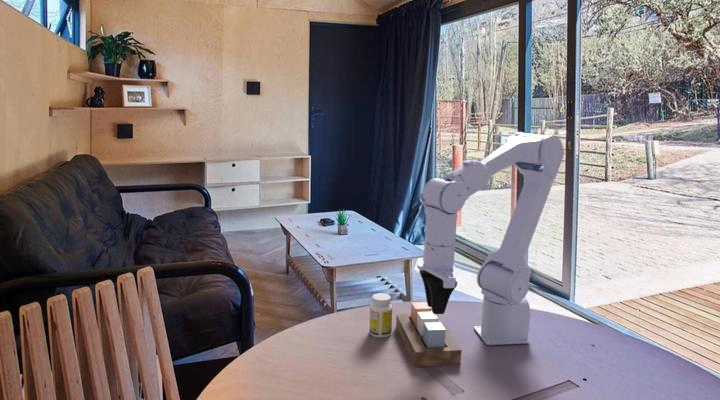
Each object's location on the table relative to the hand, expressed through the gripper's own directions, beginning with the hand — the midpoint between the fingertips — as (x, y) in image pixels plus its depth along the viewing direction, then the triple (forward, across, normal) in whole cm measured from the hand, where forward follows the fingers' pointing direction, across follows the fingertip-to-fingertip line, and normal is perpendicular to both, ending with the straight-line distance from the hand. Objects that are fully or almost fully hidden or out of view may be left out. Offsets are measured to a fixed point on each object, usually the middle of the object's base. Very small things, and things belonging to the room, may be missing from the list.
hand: (435, 309), depth 101 cm
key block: (+10, -5, 0) cm, 11 cm away
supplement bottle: (+10, -11, -8) cm, 17 cm away
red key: (+7, -10, 0) cm, 12 cm away
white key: (+7, -5, 0) cm, 9 cm away
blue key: (+7, 0, 0) cm, 7 cm away
